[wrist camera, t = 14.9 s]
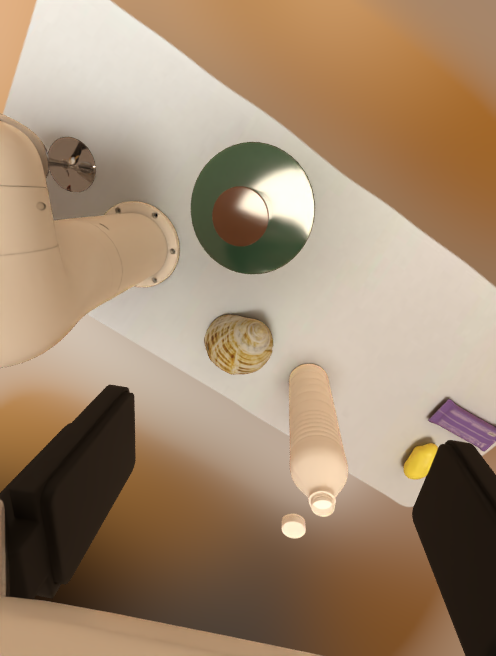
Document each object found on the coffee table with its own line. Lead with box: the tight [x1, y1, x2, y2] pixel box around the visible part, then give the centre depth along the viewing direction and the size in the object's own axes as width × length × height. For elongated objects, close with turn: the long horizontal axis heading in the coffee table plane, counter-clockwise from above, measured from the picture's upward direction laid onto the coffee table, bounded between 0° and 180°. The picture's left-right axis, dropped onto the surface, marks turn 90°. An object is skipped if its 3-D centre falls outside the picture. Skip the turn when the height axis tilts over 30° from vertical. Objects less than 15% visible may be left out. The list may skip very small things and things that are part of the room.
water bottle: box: [282, 364, 348, 538], centre depth 44 cm, size 9×6×25 cm
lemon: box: [404, 443, 438, 479], centre depth 57 cm, size 4×8×4 cm, turn 153°
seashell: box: [204, 315, 273, 374], centre depth 51 cm, size 10×10×10 cm
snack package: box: [428, 399, 496, 451], centre depth 54 cm, size 12×2×5 cm
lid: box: [191, 142, 315, 274], centre depth 19 cm, size 8×8×7 cm
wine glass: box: [0, 114, 96, 192], centre depth 40 cm, size 8×8×15 cm
